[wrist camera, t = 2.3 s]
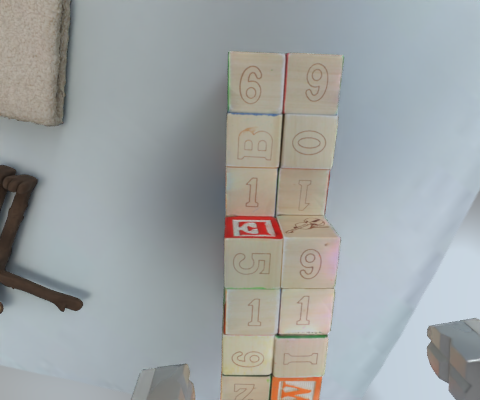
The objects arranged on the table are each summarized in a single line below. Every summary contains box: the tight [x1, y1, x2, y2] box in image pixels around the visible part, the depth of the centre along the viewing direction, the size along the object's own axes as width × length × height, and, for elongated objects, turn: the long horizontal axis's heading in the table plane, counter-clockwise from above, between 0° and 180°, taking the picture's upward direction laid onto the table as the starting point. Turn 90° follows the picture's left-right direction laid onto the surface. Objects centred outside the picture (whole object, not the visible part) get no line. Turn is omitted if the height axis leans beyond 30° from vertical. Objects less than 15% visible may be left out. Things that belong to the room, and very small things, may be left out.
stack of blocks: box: [220, 51, 344, 400], centre depth 22 cm, size 21×6×12 cm, turn 178°
